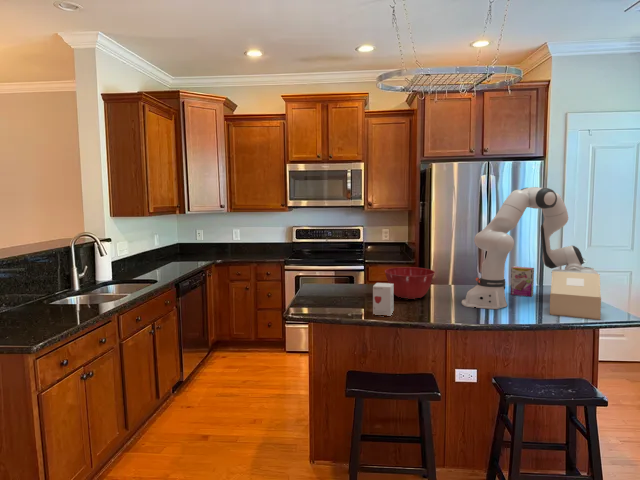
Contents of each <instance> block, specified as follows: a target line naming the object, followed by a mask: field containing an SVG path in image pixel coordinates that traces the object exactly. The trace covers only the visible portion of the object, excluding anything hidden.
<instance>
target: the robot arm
mask: <svg viewBox="0 0 640 480" xmlns="http://www.w3.org/2000/svg"><path fill="white" fill-rule="evenodd" d="M527 208H530V209H537V210H538V209H541V210H542V215H543V218H544V220H543V223H542V224H541V225H540V238H541V240H540V241H541V247H542V263H543V264H544V266H545V267H547V268H548V269H553V270H551V274H552V271H554V272H572V273H589V274H599V273H598V271H597V270H595V269H594V268H593V267H587V266H583V263H584V259H583V255H582V251H581V250H580V248H579V247H577V246H575V245H570V246H569V245H567V246H565V247H559V248H555V249H551V241H550V238H551V236H552V235H553V234H555V233H556V232H557V231H559V230H561V229H562V228H563V227H564V226H565V225H567V223H568V221H569V213H568V209H567V207H566V204H565V202H564V199H562V197H561V195H560V194H559V193H558V192H555V191H554V190H553V189H552V188H549V187H538V186H532V187H523V188H521V189H515V190H513V191H511V192H510V194H509V195H508V196H507V197H506V198H505V200H504V202H502V204H501V206H500V208H499V210H498V211H497V212H496V214H495V216H494V218H492V220H491V221H490V222H489V223H488V224H487V225H486V226H485V227H484V228H483V229H482V230H481V231H479V232H477V233H476V235H475V236H474V239H473V241H474V244H475V246H476V247H477V248H479V249H480V250H482V251H485V252H486V255H485V259H484V260H483V261H482V263H481V277H476V278H475V281H476V282H477V284H476V285H475V286H474V287H472V288H470V289H469V290H468V291H467V292H466V296H465V299H462V300H461V305H462V306H464V307H466V308H474V307H476V308H477V309H486V310H487V309H488V310H499V309H502V308H506V307H508V304H507V303H508V302H507V298H506V293H505V292H506V291H505V290H506V279H505V272H506V271H505V269H506V267H505V266H506V262H507V261H506V260H507V258H508V256H509V253H510V252H511V251H512V250H513V249H514V247H515V240H514V238H513V236H512V235H510V234H509V232H510V231H512V230H513V229H515V228H516V227H517V225H518V223H519V221H520V219H521V218H522V217H523V215H524V213H525V211H526V209H527ZM563 266H565V267H564V269H559V268H560V267H563ZM557 268H558V269H557Z"/></svg>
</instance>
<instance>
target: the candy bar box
mask: <svg viewBox="0 0 640 480" xmlns="http://www.w3.org/2000/svg"><path fill="white" fill-rule="evenodd" d="M510 271H511V273H510V274H511V275H510V295H511V296H518V297H525V298H527V297H528V298H532V297H534V288H535V287H534V284H535V283H534V280H535V279H534V277H535V268H534V267H529V266H528V267H527V266H515V265H514V266H511V270H510Z"/></svg>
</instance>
